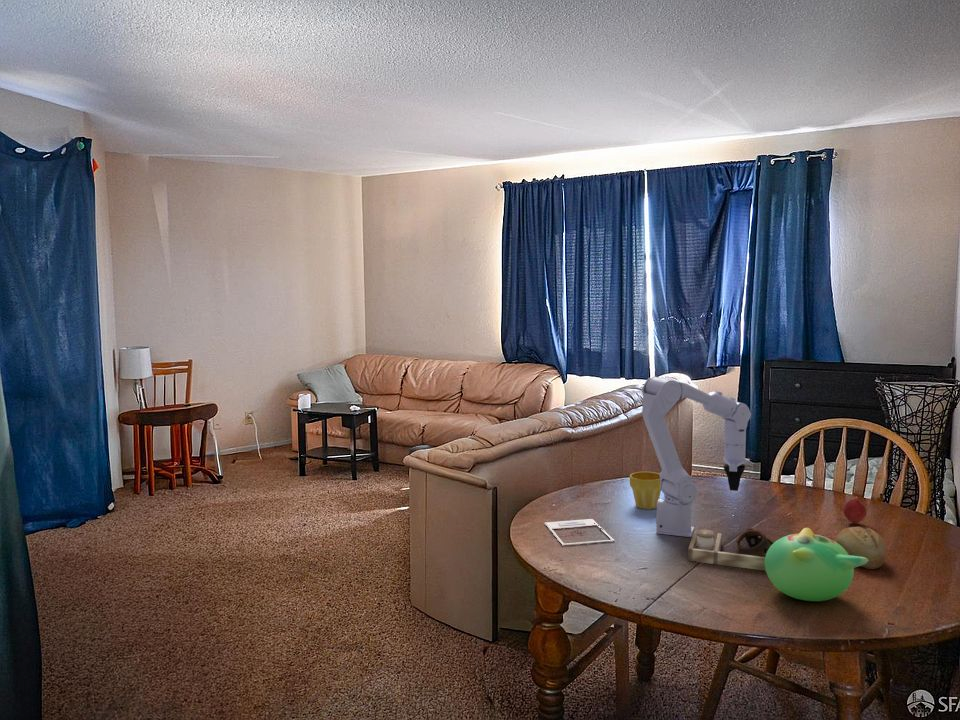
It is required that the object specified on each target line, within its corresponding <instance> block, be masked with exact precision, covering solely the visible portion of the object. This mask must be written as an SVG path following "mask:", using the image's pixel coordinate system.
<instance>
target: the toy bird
mask: <svg viewBox="0 0 960 720" xmlns="http://www.w3.org/2000/svg"><path fill="white" fill-rule="evenodd" d="M764 557H765V569H766V571H765V573H766V575H767V577H768V579H769V581H770V583H771V584H772V585H773V586H774V587H775V588H776V589H777V590H779V592H781V593H782V594H785V595H786V596H789V597H790V598H793V599H796V600H800V601H806V602H824V601H829V600H831V599H834V598H837V597H839V596H841V595H842V594H843V593H845V592H846V591H847V590H848V589H849V587H850V586H851V584H852V582H853V581H854V575H855V571H854V569H855V568H857V567H858V568H859V567H861V565H864V564H866V563H867V562H868V559H867V558H865V557H860V556H851V555H848V553H847V552H846V550H845V549H844V548H843V547H842V546H841V545H839V544H838V543H836V540H833V539H831V538H829V537H826V536H823V535H819V534H815V533H814V531H812V529H811V528H809V527H804V528H802V529H801V531H799V533H792V534H788V535H785V536H783V537H780V538H779V539H778V538H777V540H775V541H773V544H772V545H771V546H770V548H769V549H768V551H767V553H765V556H764Z"/></svg>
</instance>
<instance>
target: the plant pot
mask: <svg viewBox="0 0 960 720" xmlns="http://www.w3.org/2000/svg"><path fill="white" fill-rule="evenodd" d="M659 474H660V472H655V471H637V472H633V473H631V474H629V486H630V488H631V489H632V493H633V494H632V495H633V498H634V502H635V503H634V504H635V506H636V508H638V507H639V509H642V508H643V509H642V510H655V509H657V502H658V499H660V496H661V492H662V491H661V488H660V476H659Z"/></svg>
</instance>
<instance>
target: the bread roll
mask: <svg viewBox="0 0 960 720" xmlns="http://www.w3.org/2000/svg"><path fill="white" fill-rule="evenodd" d="M835 542H836V543H838V544H839V545H841V546H842V547H843V548H844V549H845V550H846V552H847V553H848V555H851V556H860V557H865V558H867V559H868V562H867V563H866V564H864V565H861V566H860V567H862V568H864V569H867V570H875V569H879V568H880V567H882V565H884V563H885V561H886V559H887V547H886V545H885V542H884V539H883V538H882V536H881V535H880V534H879V533H878V532H876V531H875V530H874V529H872V528H870V527H867V526H850V527H846V528H843V529H841V530H840V531H839V532H838V534H837V535H836V539H835Z"/></svg>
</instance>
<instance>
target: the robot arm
mask: <svg viewBox="0 0 960 720" xmlns="http://www.w3.org/2000/svg"><path fill="white" fill-rule="evenodd" d="M640 391H641V393H642V409H641V410H642V411H641V412H642V413H641V415H642V418H643V421H644V424H645V427H646V429H647V432H648V436H649V438H650V440H651V444H652V447H653V449H654V452H655V455H656V457H657V460H658V463H659V465H660V469H661V471H660V472H659V476H660V488H661V492H662V493H663V495H664V496H663V498H659V499H658V502H657V508H656V522H655V523H656V526H655V528H656V531H655V533H656V534H658V535H659V534H660V535H668V536H677V537H686V538H692V536H693V533H694V529H695V527H694V526H692V515H693V511H692V507H693V504H694V503H693V502H694V501H695V499H696V497H697V495H698V491H699V490H698V486H697V484H696V483H695V482H694V481H693V480H692V478H691V476H690V474H689V473H688V472H687V471H686V470H685V469H684V468H683V466H682V463H681V461H680V458H679V455H678V451H677V448H676V446H675V443H674V440H673V437H672V435H671V432H670V429H669V426H668V423H667V421H666V418H665V417H666V414H668V412H669V411H670V410H671V409H672V408H673V407H674V406H675V404H676V403H677V402H678V401H679V400H683V399H685V398H686V399H688V400H691V401H693V402H696V403H699V404H701V405H702V407H703V409H704V410H705V411H706V412H709V413H711V414H713V415H716V416H718V417H721V418H722V419H723V420H724V437H723V439H724V440H723V441H724V446H723V448H724V450H723V462H724V464H723V470H724V472H725V474H726V476H727V477H726V478H727V481H728V483H727V484H728V488H729V491H732V492H733V491H734V492H738V490H739V487H740V483H741V479H742V475H743V474H744V471H745V469H746V464H747V463H750V460H751V459H750V458H746V450H747V449H746V448H747V447H746V445H747V444H746V443H747V427H748V423H749V420H750V419H751V417H752V412H751V411H750V408H749V406H748V405H747V404H746V403H744V402H739V401H736V399H735V398H734V397H732V396H731V397H727V396H726V395H723V392H722V391H718V390H715V391H710V392H708V393H707V392H705V391H702V390H701V389H698V388H697V387H694V386H691V385H690V384H687V383H686V382H682V381H677V380H673V379H667V378H661V377H659V376H656V375H655V376H651V377H648V378H647V379H646V381H645V382H644V384H643V386H642V388H641V390H640Z"/></svg>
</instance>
